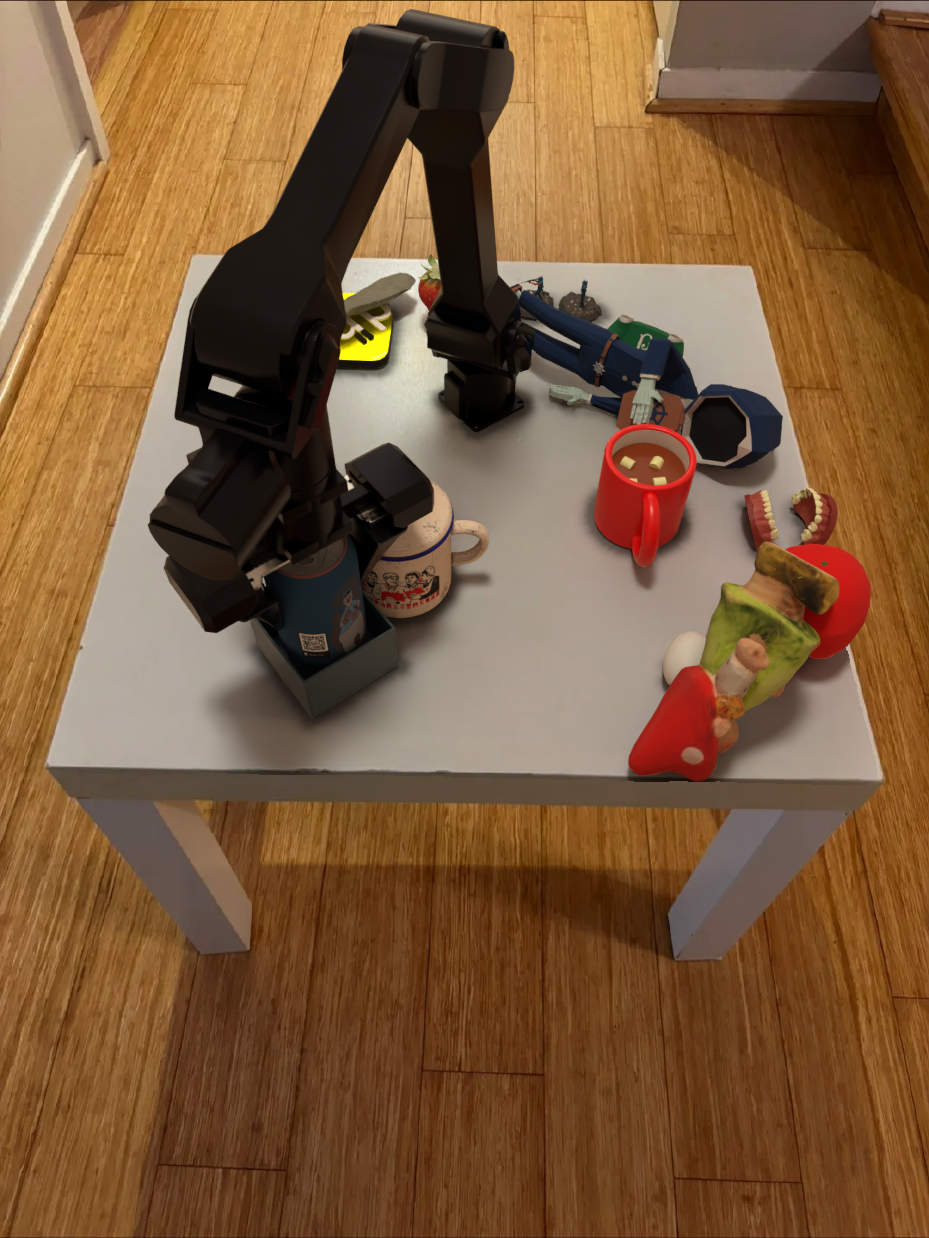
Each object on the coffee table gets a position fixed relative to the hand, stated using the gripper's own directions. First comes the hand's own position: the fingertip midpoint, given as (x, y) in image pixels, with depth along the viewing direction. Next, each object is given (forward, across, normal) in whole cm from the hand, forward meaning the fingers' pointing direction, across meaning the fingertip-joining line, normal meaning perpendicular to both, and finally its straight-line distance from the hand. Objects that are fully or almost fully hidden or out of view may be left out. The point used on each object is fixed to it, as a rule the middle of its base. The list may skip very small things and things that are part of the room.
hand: (318, 602), depth 75 cm
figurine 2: (-5, -29, +22) cm, 37 cm away
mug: (+8, -30, +6) cm, 31 cm away
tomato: (-1, -33, +20) cm, 39 cm away
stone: (+4, -26, -32) cm, 41 cm away
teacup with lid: (+8, -11, -2) cm, 13 cm away
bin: (+8, 0, 0) cm, 8 cm away
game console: (+8, -20, -36) cm, 42 cm away
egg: (+8, -22, +19) cm, 30 cm away
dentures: (+6, -37, +10) cm, 39 cm away
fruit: (+8, -33, -28) cm, 44 cm away
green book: (+8, -45, -11) cm, 47 cm away
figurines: (+8, -44, -23) cm, 51 cm away
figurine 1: (+1, -35, -21) cm, 40 cm away
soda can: (+5, 0, 0) cm, 5 cm away
